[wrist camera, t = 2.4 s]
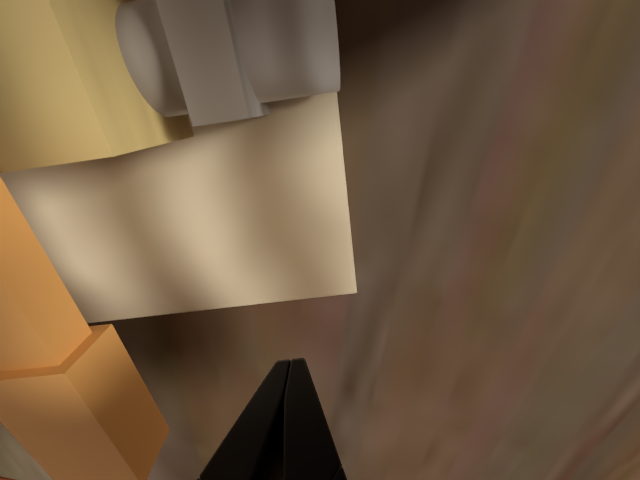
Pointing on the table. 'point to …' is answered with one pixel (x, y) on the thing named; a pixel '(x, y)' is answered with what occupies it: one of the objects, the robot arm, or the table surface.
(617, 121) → the table surface
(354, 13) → the table surface
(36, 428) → the valve lever
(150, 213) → the valve plank
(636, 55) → the table surface
